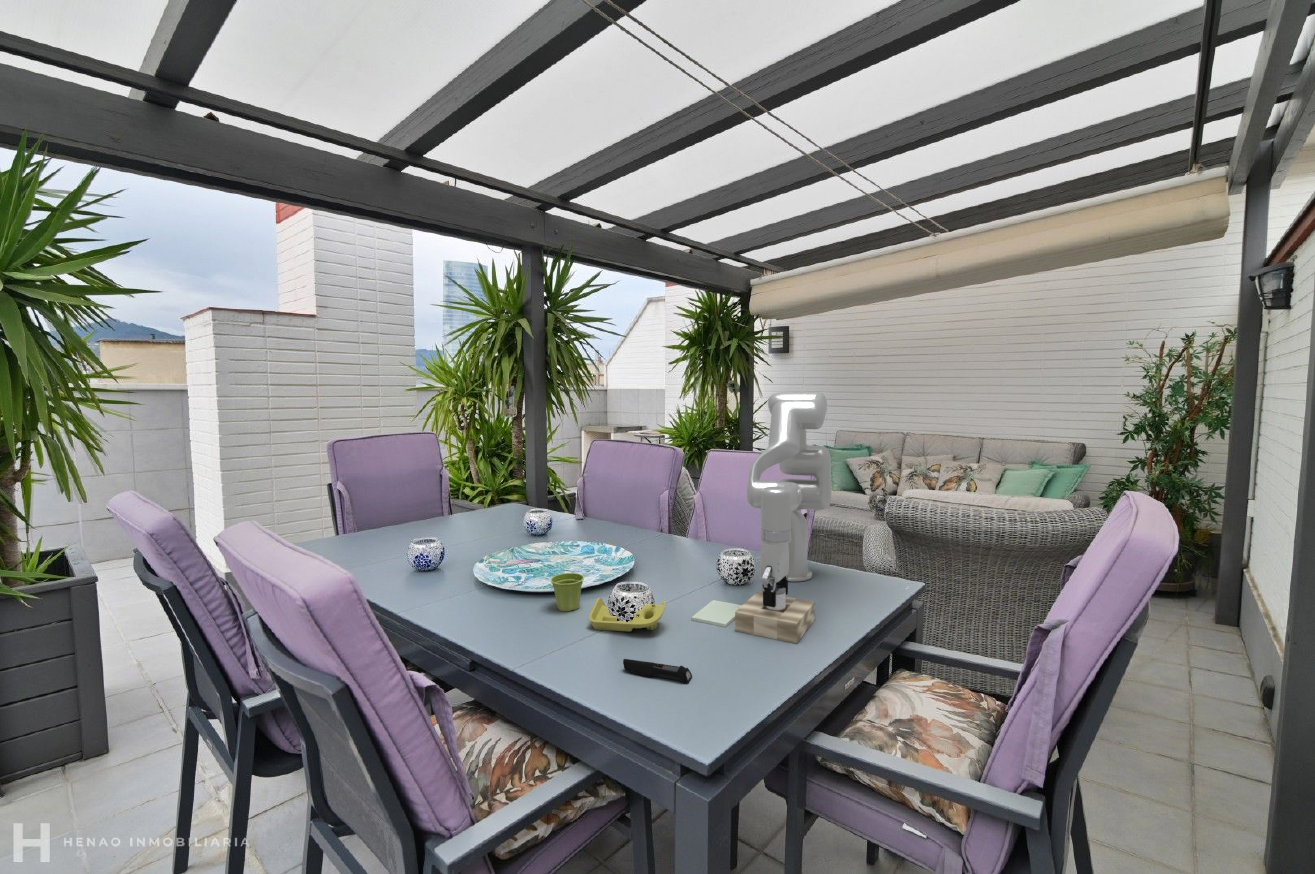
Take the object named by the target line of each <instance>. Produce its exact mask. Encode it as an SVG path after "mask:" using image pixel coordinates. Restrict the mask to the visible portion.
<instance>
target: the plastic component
mask: <svg viewBox="0 0 1315 874" xmlns="http://www.w3.org/2000/svg"><path fill="white" fill-rule="evenodd" d="M666 604H667V600H663V603H662V604H656V603H652V604H651V603H650V604H644V605H645V606H644V607H643V608H642V609H641V610H640V611H639V612H637V613H636V614H635V615H634V618H633V620H632V621H631V622H630V621H628V622H626V621H625V622H624V621H617V617H616V616H611V615H610V613H609V610H608V605H607V606H606V604H605V602H604V599H602V598H601V597H598V598H597V599H596V601H595V603H594V606H593V608H592V609H591V612H590V614H589V615H588V616H589V617H588V618H589V621H590V623H591V626H592V627H593V628H594V629H595V630H598V631H599V630H601V631H614V632H615V631H616V632H617V631H618V632H629V633H630V632H632V631H633V629H643V628H646V629H647V630H651V631H653V630H654V629H657V627H658V624H659V623H658V622H659V621H660V620H661V618H662V617H663V614H664V610H665V607H666ZM637 616H639V617H637Z"/></svg>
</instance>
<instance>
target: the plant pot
mask: <svg viewBox="0 0 1315 874" xmlns="http://www.w3.org/2000/svg"><path fill="white" fill-rule="evenodd" d="M584 580H585V576H584V575H583V574H580V573H576V572H564V573H559V574H556V575H554V576H552V577H551V578H550V583H551V585H552V587H553V590H554V595H555V600H556V601H555V602H556V606H557V609H558V610H559V611H560V612H570V611H574V610H575V611H576V610H578V609H579V608H580V604H581V603H580V602H581V601H580V600H581V595H582V594H581V592H582V586H583V582H584Z"/></svg>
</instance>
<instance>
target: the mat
mask: <svg viewBox="0 0 1315 874" xmlns="http://www.w3.org/2000/svg"><path fill="white" fill-rule="evenodd" d="M742 605H743V604H736V603H731V602H725V601H720V600H714V599H712V600H711V601H710V602H709V603H707V604H706V605H705V606H704V607H702V608H701V609H700V610H699V611H698V612H696V613H695V614H693V615H692V616H691V617H690V619H691V621H693V622H699V623H703V624H707V625H713V626H717V627H722V628H727V627H728V626H729V625H730V624H731V623H732V622H733V621H735V612H736V611H737V610H738V609H739V608H740V607H741V606H742Z"/></svg>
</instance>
